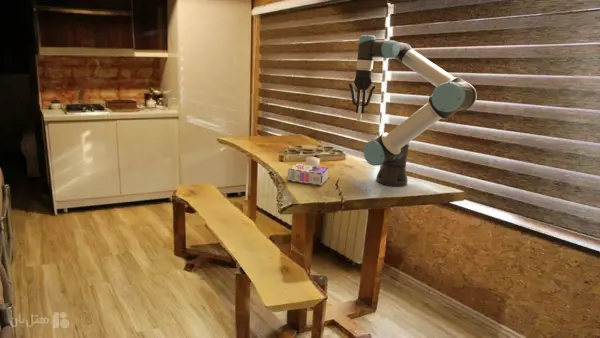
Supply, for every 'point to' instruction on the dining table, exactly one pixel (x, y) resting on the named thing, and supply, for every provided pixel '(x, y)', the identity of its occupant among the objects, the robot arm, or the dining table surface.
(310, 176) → the candy box
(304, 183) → the mat
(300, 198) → the dining table surface
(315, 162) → the cream capsule shape
